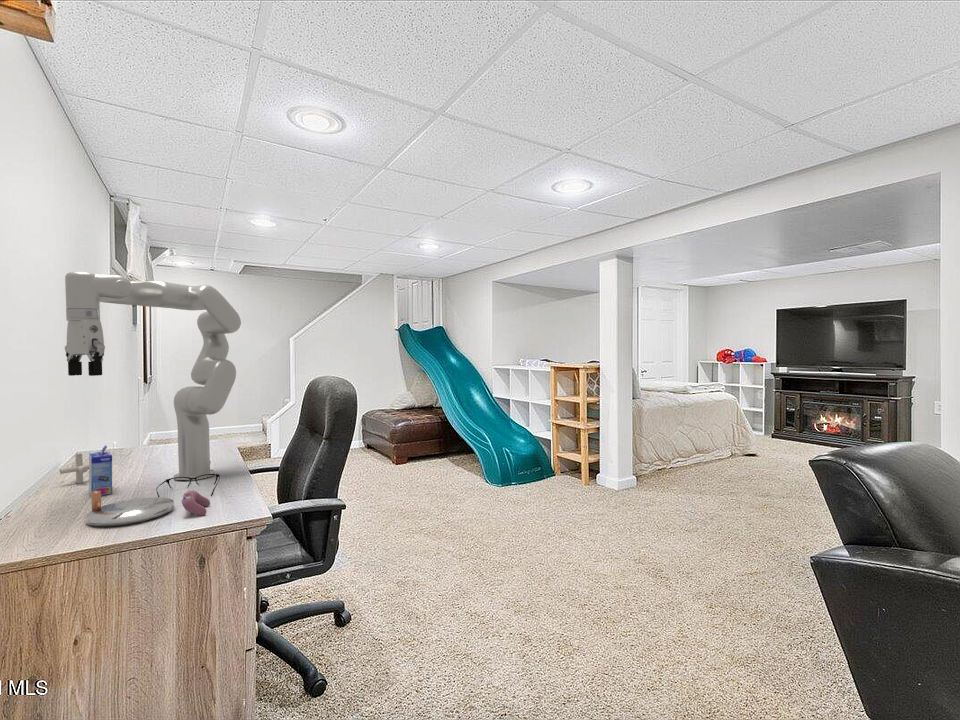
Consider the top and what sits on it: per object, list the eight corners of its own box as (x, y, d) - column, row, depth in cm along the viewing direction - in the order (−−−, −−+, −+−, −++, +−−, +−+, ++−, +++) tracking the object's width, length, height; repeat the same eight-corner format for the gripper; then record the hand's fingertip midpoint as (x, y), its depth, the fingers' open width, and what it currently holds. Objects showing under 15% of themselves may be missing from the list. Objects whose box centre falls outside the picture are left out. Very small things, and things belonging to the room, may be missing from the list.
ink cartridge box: (113, 494, 151) (112, 447, 151) (91, 497, 147) (89, 450, 147) (110, 487, 158) (109, 443, 158) (88, 491, 155) (87, 445, 154)
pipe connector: (92, 477, 172) (91, 449, 172) (103, 481, 166) (102, 452, 166) (56, 484, 164) (55, 454, 164) (65, 488, 158) (64, 458, 158)
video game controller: (195, 512, 137) (181, 491, 135) (211, 503, 138) (198, 482, 137) (190, 523, 128) (175, 501, 126) (207, 513, 129) (193, 491, 128)
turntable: (111, 505, 138) (110, 482, 138) (185, 500, 142) (184, 478, 141) (68, 529, 119) (67, 502, 119) (154, 522, 123) (153, 497, 123)
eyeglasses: (222, 484, 162) (221, 472, 162) (217, 497, 147) (217, 484, 147) (163, 490, 155) (163, 478, 155) (153, 504, 141) (152, 491, 141)
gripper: (116, 315, 140) (118, 374, 140) (80, 317, 147) (82, 374, 147) (86, 313, 133) (88, 376, 133) (50, 316, 140) (52, 376, 140)
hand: (85, 375), depth 140 cm, fingers open, 9 cm apart
